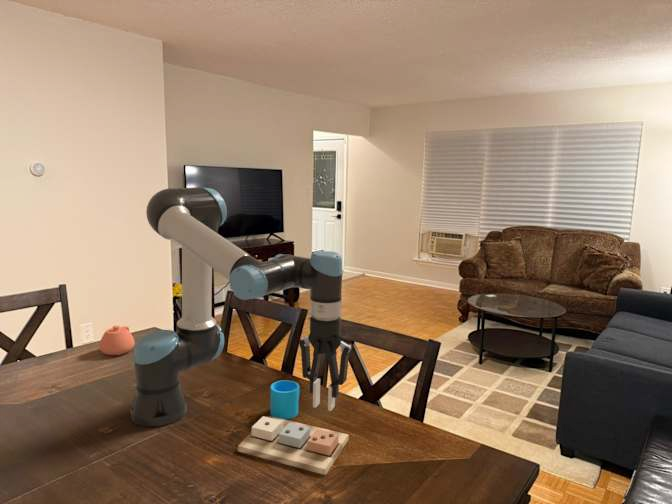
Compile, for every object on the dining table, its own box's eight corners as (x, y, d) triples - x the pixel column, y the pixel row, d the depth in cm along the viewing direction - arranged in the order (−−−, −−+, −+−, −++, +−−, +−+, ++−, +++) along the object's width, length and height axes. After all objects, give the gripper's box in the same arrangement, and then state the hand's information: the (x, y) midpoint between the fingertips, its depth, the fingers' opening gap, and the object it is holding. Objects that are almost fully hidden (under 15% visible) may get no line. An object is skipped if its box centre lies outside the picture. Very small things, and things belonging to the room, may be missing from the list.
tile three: (307, 450, 117) (307, 440, 117) (316, 437, 123) (317, 428, 122) (329, 455, 115) (329, 445, 115) (338, 442, 121) (338, 433, 120)
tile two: (278, 442, 120) (278, 433, 120) (289, 431, 126) (289, 421, 125) (300, 448, 118) (300, 438, 117) (309, 436, 123) (310, 426, 123)
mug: (288, 422, 133) (288, 395, 132) (264, 414, 137) (264, 388, 136) (310, 404, 144) (310, 379, 142) (288, 397, 147) (288, 373, 146)
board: (237, 451, 119) (237, 445, 119) (269, 420, 134) (269, 415, 133) (325, 475, 110) (325, 469, 110) (348, 439, 125) (348, 434, 125)
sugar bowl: (92, 356, 176) (90, 330, 174) (115, 343, 189) (114, 318, 188) (122, 359, 174) (120, 332, 172) (143, 345, 187) (142, 321, 186)
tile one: (251, 435, 123) (251, 426, 122) (263, 424, 128) (263, 415, 128) (271, 441, 121) (271, 431, 120) (282, 429, 126) (282, 420, 126)
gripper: (287, 316, 112) (287, 407, 117) (352, 325, 107) (349, 420, 111) (301, 307, 119) (300, 393, 123) (362, 316, 114) (359, 406, 118)
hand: (323, 406), depth 117 cm, fingers open, 3 cm apart
